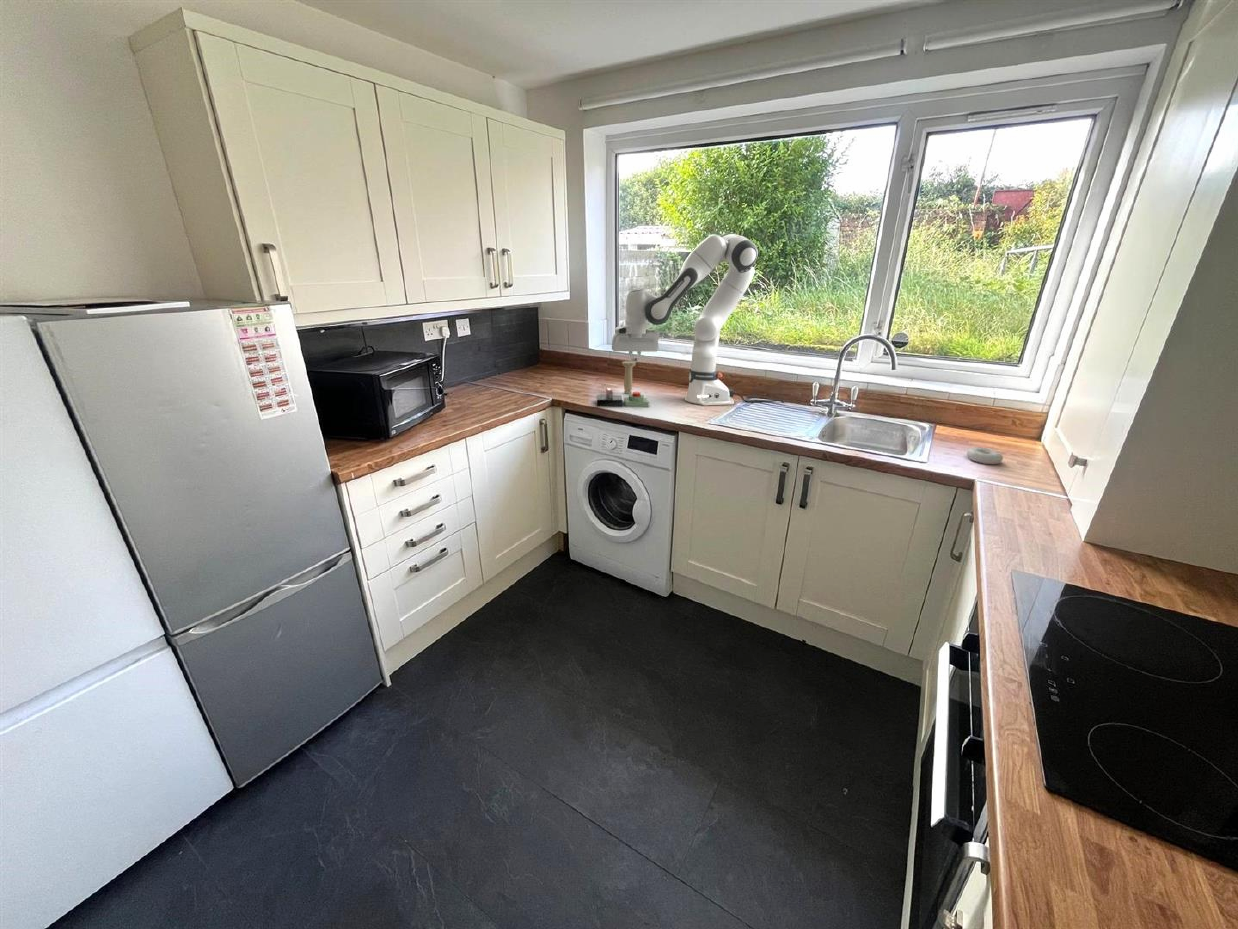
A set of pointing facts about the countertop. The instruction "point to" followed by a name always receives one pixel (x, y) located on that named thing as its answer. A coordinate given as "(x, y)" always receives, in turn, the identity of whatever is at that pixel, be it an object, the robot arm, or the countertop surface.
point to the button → (636, 394)
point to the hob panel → (609, 401)
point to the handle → (628, 376)
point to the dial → (609, 393)
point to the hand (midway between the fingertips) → (634, 361)
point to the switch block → (635, 401)
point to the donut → (984, 455)
